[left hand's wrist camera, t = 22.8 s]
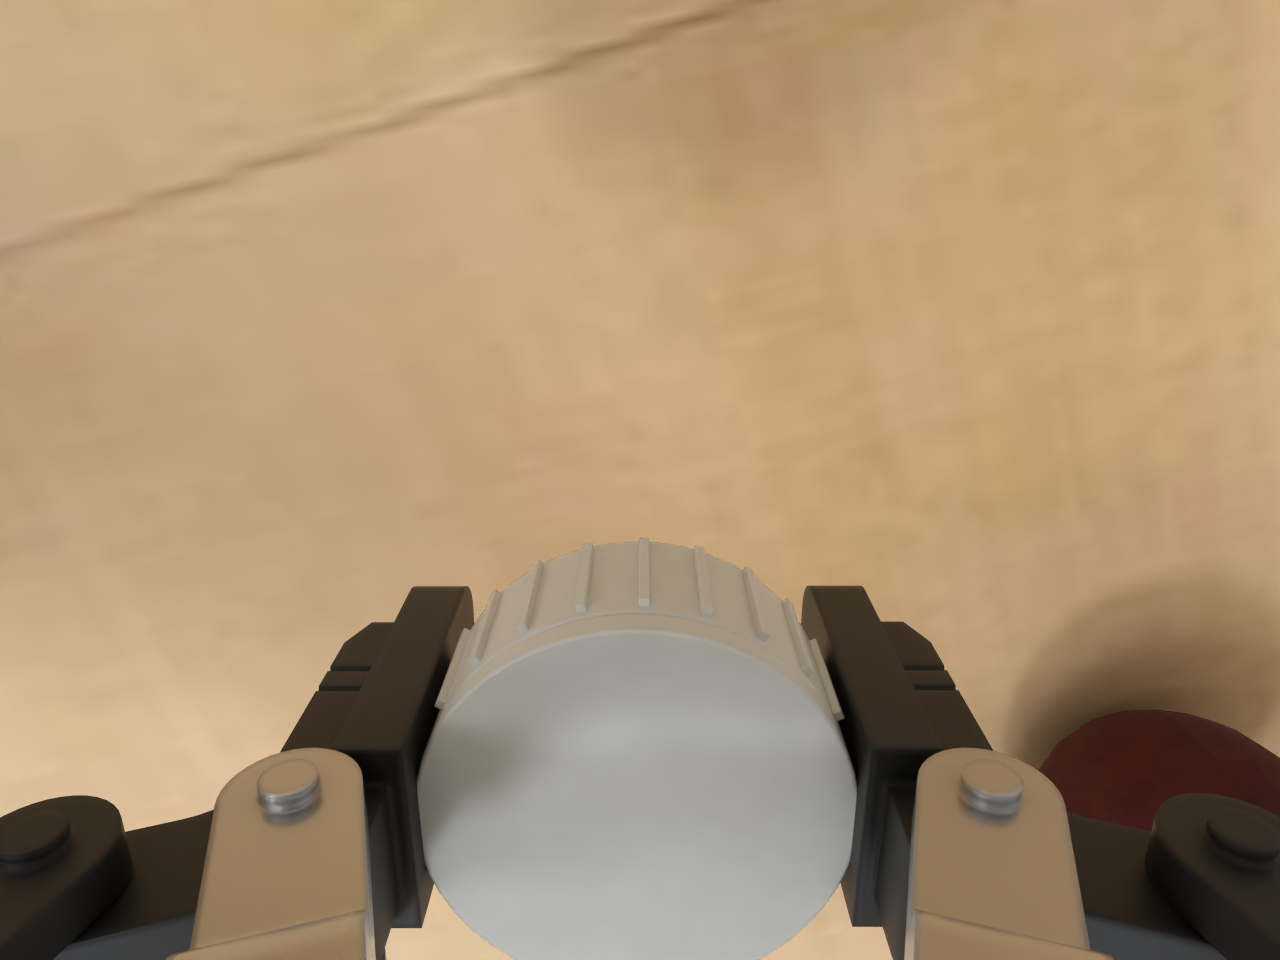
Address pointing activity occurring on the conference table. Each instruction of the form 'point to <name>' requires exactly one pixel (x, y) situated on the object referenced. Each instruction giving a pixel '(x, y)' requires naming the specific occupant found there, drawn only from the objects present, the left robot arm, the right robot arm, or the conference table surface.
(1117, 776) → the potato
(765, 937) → the lid
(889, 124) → the conference table surface
